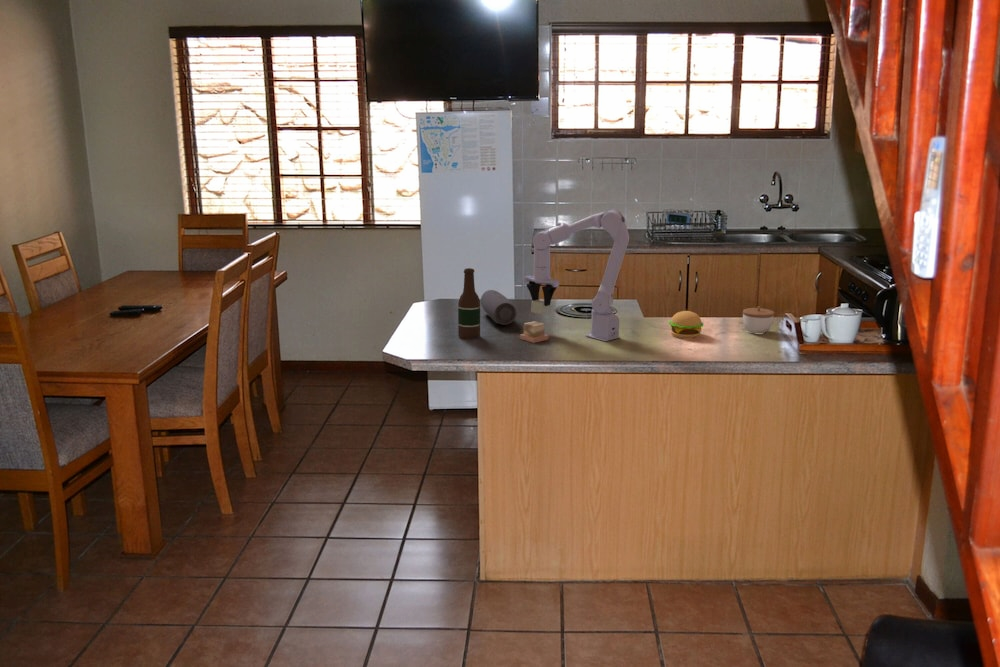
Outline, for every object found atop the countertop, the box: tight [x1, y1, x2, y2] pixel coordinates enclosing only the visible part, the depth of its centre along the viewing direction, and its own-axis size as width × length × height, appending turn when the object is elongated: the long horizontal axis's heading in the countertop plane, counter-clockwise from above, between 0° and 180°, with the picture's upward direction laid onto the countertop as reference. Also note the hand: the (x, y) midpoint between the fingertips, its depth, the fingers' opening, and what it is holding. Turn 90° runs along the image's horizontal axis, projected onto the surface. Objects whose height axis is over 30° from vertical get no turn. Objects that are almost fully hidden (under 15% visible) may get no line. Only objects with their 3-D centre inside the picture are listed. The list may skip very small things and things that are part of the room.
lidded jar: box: [742, 306, 775, 334], centre depth 318 cm, size 11×11×9 cm
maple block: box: [523, 320, 545, 337], centre depth 308 cm, size 5×5×4 cm
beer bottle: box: [457, 267, 481, 340], centre depth 308 cm, size 8×8×24 cm
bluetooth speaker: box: [480, 289, 517, 326], centre depth 333 cm, size 23×9×10 cm, turn 14°
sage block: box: [530, 298, 552, 315], centre depth 315 cm, size 5×5×4 cm
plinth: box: [519, 333, 549, 344], centre depth 308 cm, size 7×7×2 cm
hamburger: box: [668, 310, 704, 339], centre depth 313 cm, size 12×12×9 cm
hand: (541, 304), depth 315 cm, fingers closed on sage block, 5 cm apart
